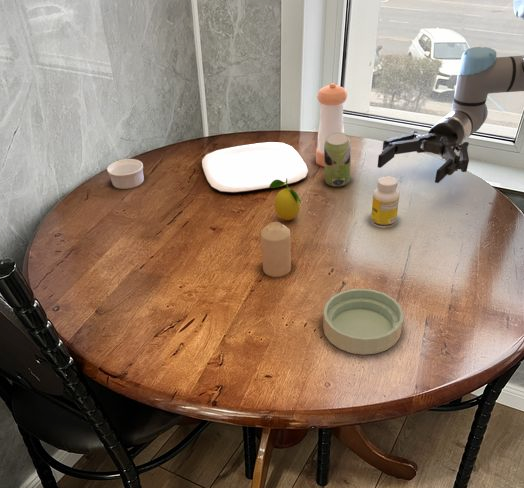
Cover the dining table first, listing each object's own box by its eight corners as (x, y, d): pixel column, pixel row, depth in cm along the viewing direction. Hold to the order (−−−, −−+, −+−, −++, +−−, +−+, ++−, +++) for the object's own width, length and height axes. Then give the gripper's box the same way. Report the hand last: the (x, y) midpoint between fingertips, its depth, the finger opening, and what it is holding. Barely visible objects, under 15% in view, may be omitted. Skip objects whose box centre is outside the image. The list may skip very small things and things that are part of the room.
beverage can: (350, 177, 133) (353, 128, 124) (348, 192, 128) (351, 142, 119) (324, 177, 134) (326, 128, 125) (321, 191, 129) (323, 141, 120)
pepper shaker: (336, 154, 143) (339, 76, 129) (349, 165, 138) (353, 85, 124) (311, 159, 141) (312, 81, 128) (323, 170, 136) (325, 91, 123)
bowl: (412, 321, 94) (415, 303, 91) (381, 367, 86) (383, 349, 83) (344, 298, 99) (345, 280, 96) (309, 340, 91) (309, 322, 89)
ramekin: (153, 178, 138) (149, 161, 135) (131, 193, 133) (128, 177, 130) (125, 172, 141) (121, 156, 138) (103, 187, 136) (99, 171, 133)
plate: (213, 202, 127) (213, 195, 126) (197, 158, 145) (197, 151, 144) (316, 185, 131) (316, 178, 130) (288, 144, 149) (288, 137, 148)
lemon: (270, 215, 122) (268, 173, 115) (295, 211, 122) (295, 169, 116) (277, 230, 117) (275, 187, 110) (303, 226, 118) (303, 183, 111)
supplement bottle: (369, 216, 119) (373, 174, 112) (395, 216, 119) (400, 174, 112) (371, 229, 115) (375, 186, 109) (396, 229, 115) (402, 186, 108)
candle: (292, 277, 104) (291, 232, 98) (264, 279, 104) (261, 234, 97) (289, 261, 108) (288, 216, 102) (262, 263, 108) (259, 219, 101)
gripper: (497, 161, 125) (459, 200, 113) (399, 138, 136) (356, 171, 125) (505, 128, 120) (467, 166, 108) (402, 108, 131) (358, 139, 120)
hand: (407, 169), depth 116 cm, fingers open, 13 cm apart
